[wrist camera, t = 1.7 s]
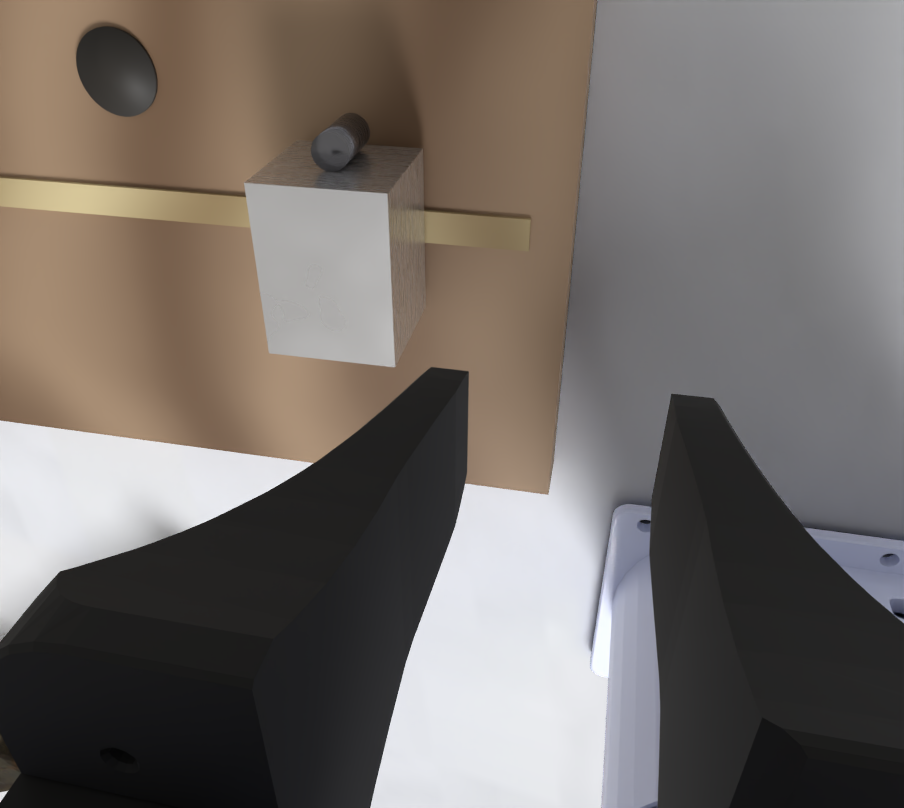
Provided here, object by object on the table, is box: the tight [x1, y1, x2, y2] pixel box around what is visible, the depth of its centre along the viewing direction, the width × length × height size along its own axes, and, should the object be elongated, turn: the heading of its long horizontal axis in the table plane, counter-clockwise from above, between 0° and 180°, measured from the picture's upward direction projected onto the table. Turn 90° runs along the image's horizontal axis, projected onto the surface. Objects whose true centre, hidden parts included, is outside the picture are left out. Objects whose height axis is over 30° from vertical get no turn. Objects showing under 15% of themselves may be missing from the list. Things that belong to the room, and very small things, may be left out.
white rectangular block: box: [244, 113, 426, 367], centre depth 18 cm, size 3×5×3 cm, turn 0°
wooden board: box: [0, 0, 597, 494], centre depth 20 cm, size 20×14×5 cm
